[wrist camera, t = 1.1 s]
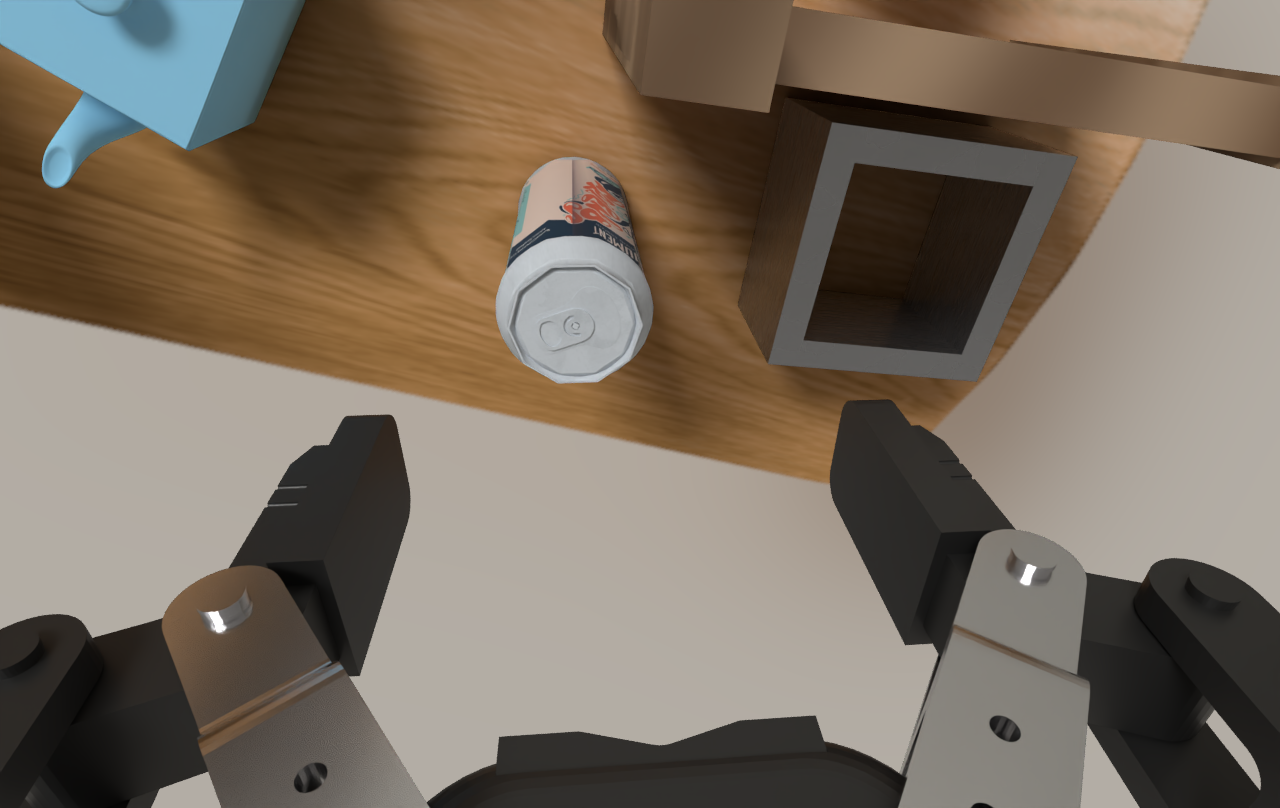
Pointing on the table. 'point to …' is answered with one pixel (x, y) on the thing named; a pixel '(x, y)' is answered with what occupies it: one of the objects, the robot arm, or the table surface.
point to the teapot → (150, 66)
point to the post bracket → (946, 265)
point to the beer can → (574, 276)
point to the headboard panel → (935, 72)
